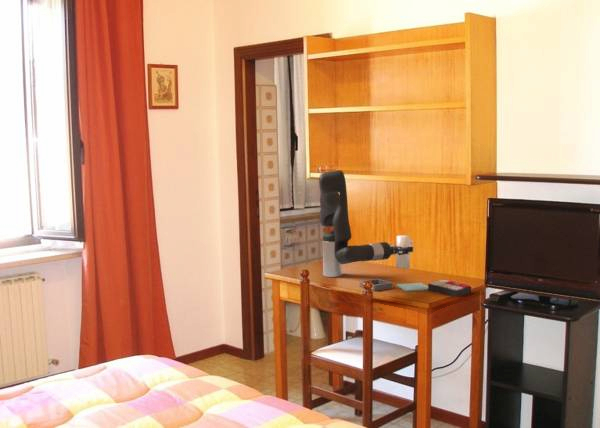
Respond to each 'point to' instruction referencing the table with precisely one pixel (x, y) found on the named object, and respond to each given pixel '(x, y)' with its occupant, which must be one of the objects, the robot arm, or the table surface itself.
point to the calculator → (449, 288)
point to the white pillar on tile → (404, 260)
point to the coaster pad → (413, 287)
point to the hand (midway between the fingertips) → (407, 248)
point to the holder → (379, 284)
